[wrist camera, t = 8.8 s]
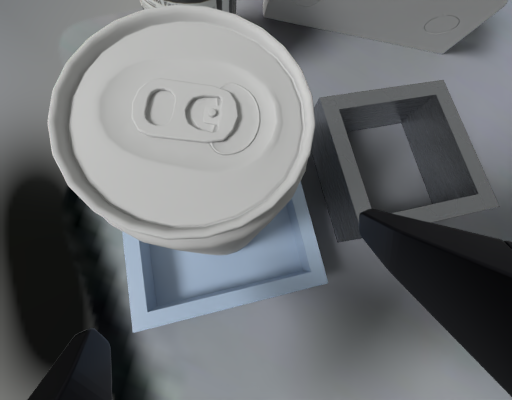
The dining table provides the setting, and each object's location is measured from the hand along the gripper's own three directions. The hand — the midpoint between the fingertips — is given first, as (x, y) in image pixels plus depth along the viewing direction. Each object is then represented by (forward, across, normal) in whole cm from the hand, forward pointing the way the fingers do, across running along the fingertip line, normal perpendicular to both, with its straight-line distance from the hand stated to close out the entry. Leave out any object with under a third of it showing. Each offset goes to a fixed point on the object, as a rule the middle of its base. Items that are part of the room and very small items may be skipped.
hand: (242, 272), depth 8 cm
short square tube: (+8, -12, +4) cm, 15 cm away
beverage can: (+8, 0, +3) cm, 8 cm away
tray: (+8, 0, +3) cm, 9 cm away
